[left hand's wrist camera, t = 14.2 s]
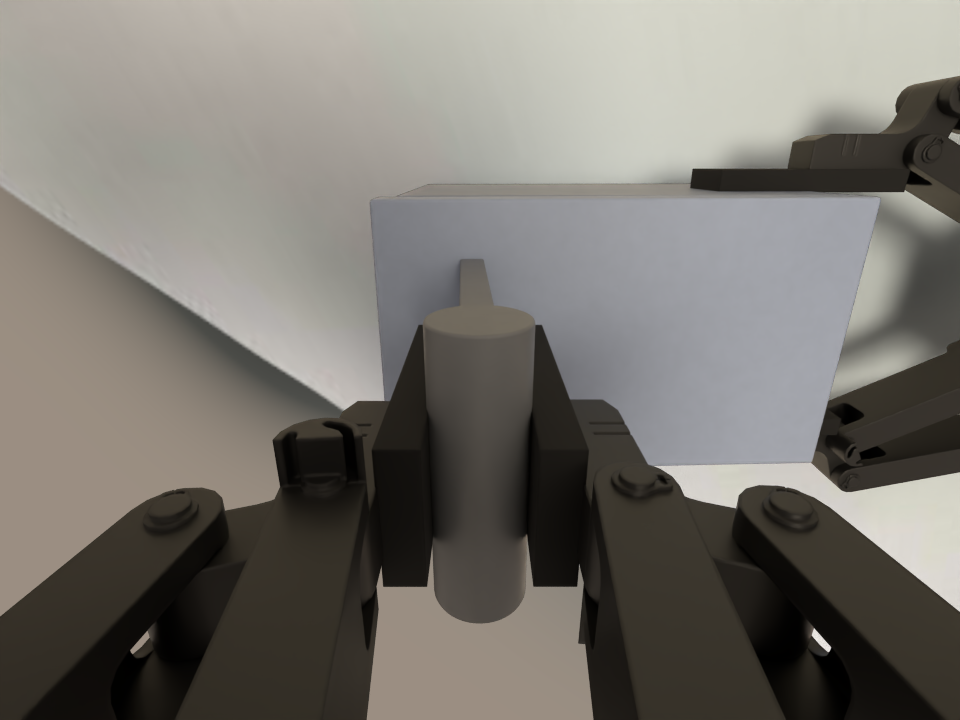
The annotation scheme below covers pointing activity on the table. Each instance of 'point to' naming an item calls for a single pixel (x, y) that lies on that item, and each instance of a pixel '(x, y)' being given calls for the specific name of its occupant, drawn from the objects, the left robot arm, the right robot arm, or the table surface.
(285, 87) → the table surface
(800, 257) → the lid
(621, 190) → the chest
